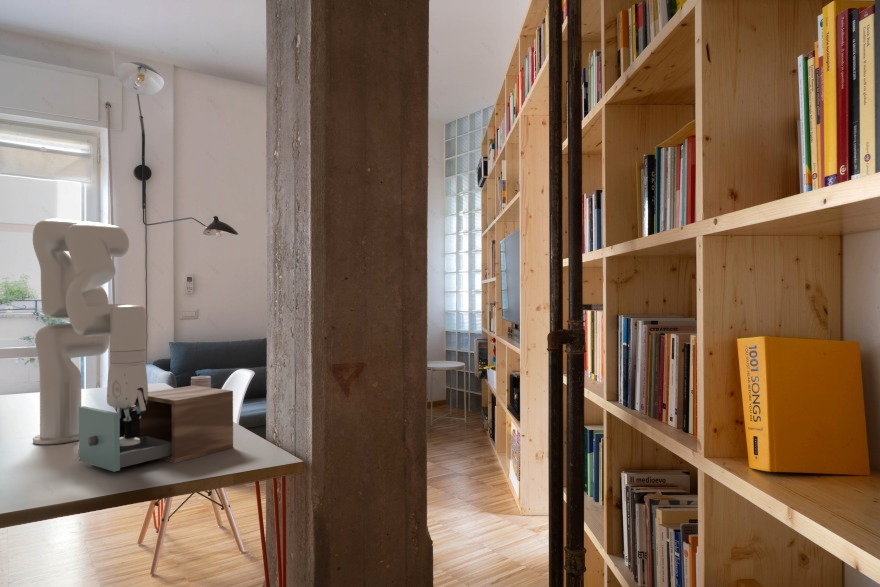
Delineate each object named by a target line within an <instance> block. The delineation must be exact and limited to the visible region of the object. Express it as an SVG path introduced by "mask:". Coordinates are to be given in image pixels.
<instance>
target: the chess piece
mask: <svg viewBox="0 0 880 587" xmlns="http://www.w3.org/2000/svg"><path fill="white" fill-rule="evenodd" d="M132 411H133V410H131V413H132ZM124 413H125V416H126V409H124ZM123 421H127V418H124V420H123ZM139 443H140V439H139V438H136V437H135V438H130V439H125V435H124V436H123V437H122V438H120V446H130V445H136V444H139Z"/></svg>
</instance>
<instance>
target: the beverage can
mask: <svg viewBox="0 0 880 587" xmlns="http://www.w3.org/2000/svg"><path fill="white" fill-rule="evenodd" d="M190 379H191V380H190V386H193V385H194V386H201V387H208V388H212V377H211V376H210V375H198V376H197V375H196V376H191V377H190Z"/></svg>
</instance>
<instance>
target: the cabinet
mask: <svg viewBox="0 0 880 587" xmlns="http://www.w3.org/2000/svg"><path fill="white" fill-rule="evenodd" d="M134 406H136V405H134ZM145 408H146V411H145V412H143V413H142V414H141V419H140V436H139V437H136V438H140V437H145V436H149V437H153V438H158V439H162V440H166V441H170V442H172V455H170V456H166V457H162V458H158V460H162V459H163V460H162V461H166V460H167V462H170V461H171V463H173V462H176V463H180V462H183V460H184V461H188V460H191V459H195V457H196V458H200V457H203V456H206V454H207V455H210V454H209V453H211V454H214V453H213V452H215V453H217V451H219V452H221V450H222V451H226V450H230V449H233V448H234V391H233V390H228V389H222V388H213V387H211V388H208V387H201V386H194V385H193V386H191V385H188V386H182V387H175V388H168V389H167V388H165V389H161V390H154V391H148V402H147V404H146V405H145ZM225 449H226V450H225ZM202 455H203V456H202ZM187 459H188V460H187ZM179 461H180V462H179Z"/></svg>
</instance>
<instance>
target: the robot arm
mask: <svg viewBox="0 0 880 587" xmlns="http://www.w3.org/2000/svg"><path fill="white" fill-rule="evenodd" d="M32 246H33V249H34V250H33V251H34V252H35V256H36V258H37V262H38V264H39V268H40V296H41V297H40V298H41V299H40V301H41V302H40V303H41V309H42V310H41V311H42V312H43V314H44V316H45V317H47V318H50V319H57V320H59V319H61V320H63V319H68V320H69V323H67V322H66V323H51V324H48V325H44V326H43V327H41V328H39V329H38V331H36V334H35V340H34V343H35V348H36V353H37V358H38V359H37V360H38V367H39V369H38V370H39V434H38V435H35V436H33V438H32V443H33V444H36V445H57V444H59V445H60V444H65V443H72V442H77V441H79V407H82V373H81V371H80V369H79V368H78V366H77V365H76V364H75V363H74V362H73V361H72V359H73V358H84V357H93V356H94V357H95V356H101V355H104V354H105V353H106V352H107V351H108V349H109V369H108V373H107V374H108V375H107V386H106V404H108V406H110V407H111V408H113V410H114V411H115V413H119V414H120V438H123V436H124V435H125V439H130V438H135V437H139V436H140V419H141V414H142V413H143V412H145V411H146V408H145V405H146V404H147V402H148V392H149V384H148V374H147V373H148V372H147V367H146V364H147V309H146V307H144V306H143V305H140V304H128V303H109V297H108V294H107V292H106V290H105V289H104V288H103V287H102V286H103V285H105V284H107V283H108V282H110V281H111V280H112V279H113V278H114V277H115V276H116V273H117V272H116V267H115V264H114V262H113V259H112V258H121V257H124V256H125V255H126V254H127V253H128V251H129V248H130V247H129V246H130V241H129V236H128V235H127V233H126V231H125V230H124V229H123V228H122V227H120V226H118V225H114V224H113V225H112V224H108V223H102V222H94V221H81V220H73V219H63V218H50V219H49V218H47V219H43V220H40V221H39V222H37V223H36V224H35V226H34V227H33V232H32ZM67 252H68V253H67ZM68 254H69V255H68ZM135 405H136V406H135ZM124 409H126V416H125V413H124ZM131 410H133V411H132V413H131ZM124 418H127V421H123V420H124Z"/></svg>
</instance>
